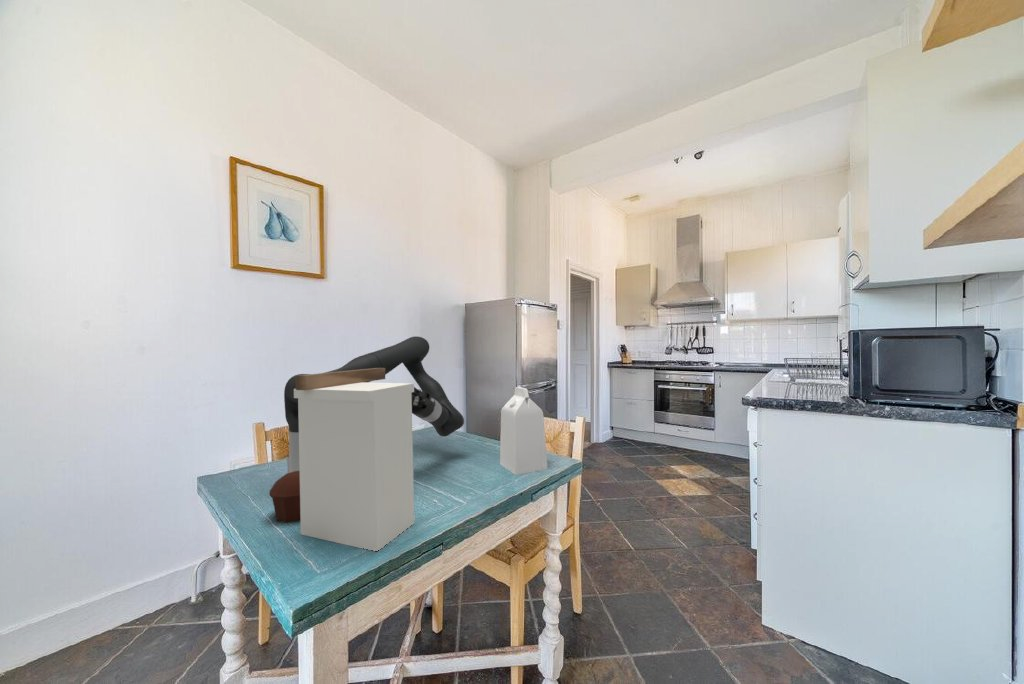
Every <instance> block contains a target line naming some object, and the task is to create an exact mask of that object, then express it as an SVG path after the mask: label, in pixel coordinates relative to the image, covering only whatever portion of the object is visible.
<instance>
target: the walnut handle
mask: <svg viewBox="0 0 1024 684" xmlns="http://www.w3.org/2000/svg"><path fill="white" fill-rule="evenodd" d="M328 372H329V371H328ZM307 374H308V375H298V374H297V375H298V376H295V375H294V376H295V380H296V390H312V389H319V388H326V387H333V386H340V385H347V384H354V383H361V382H368V381H371V382H373V381H374V382H375V381H380V380H386V375H385V368H370V369H360V370H350V371H339V372H329V373H325V372H322V373H321V372H320V373H307ZM368 383H369V382H368Z"/></svg>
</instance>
